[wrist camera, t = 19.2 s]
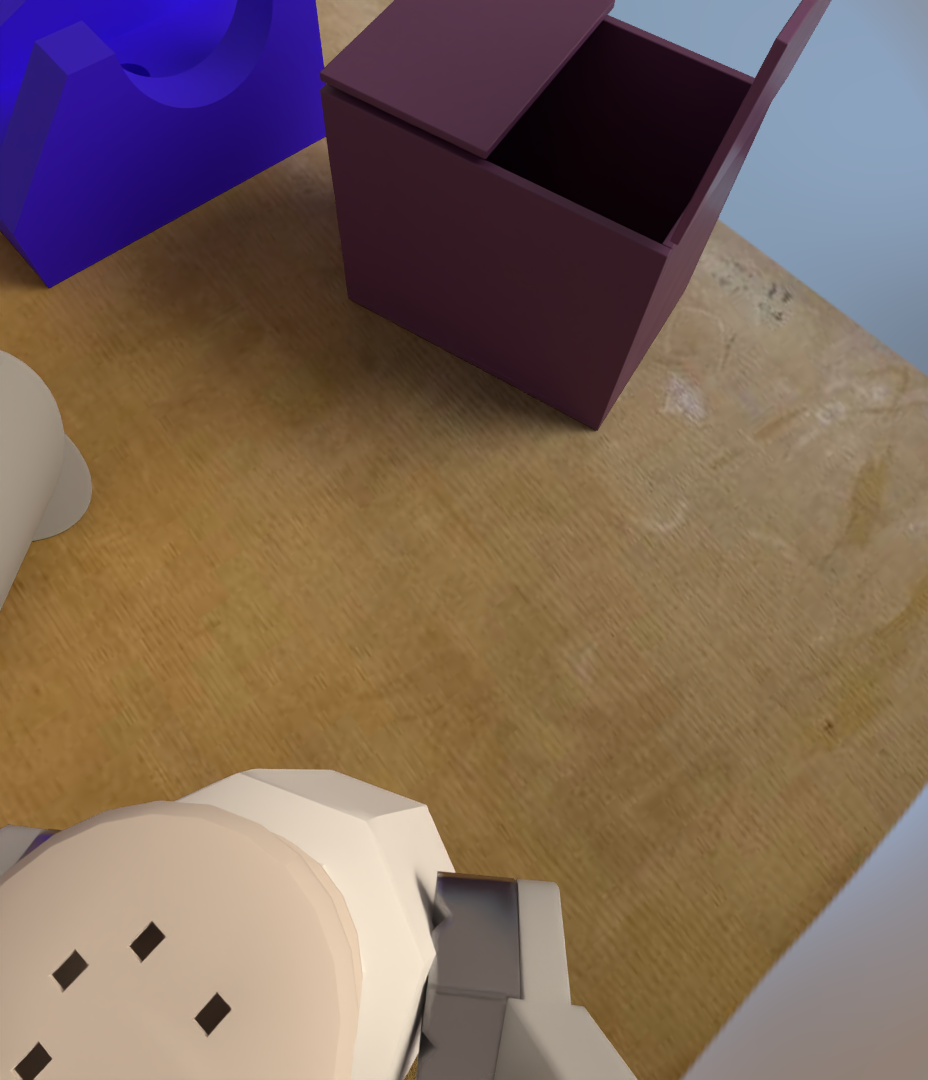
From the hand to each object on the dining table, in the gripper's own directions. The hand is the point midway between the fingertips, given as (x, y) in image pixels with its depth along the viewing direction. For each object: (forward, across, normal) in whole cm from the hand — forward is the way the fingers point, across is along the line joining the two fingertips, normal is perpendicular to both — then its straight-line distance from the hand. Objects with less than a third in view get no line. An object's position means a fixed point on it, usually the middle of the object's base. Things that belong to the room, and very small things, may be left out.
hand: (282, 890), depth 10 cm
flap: (+26, -12, -15) cm, 32 cm away
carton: (+42, -4, -5) cm, 42 cm away
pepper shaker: (+4, 0, +5) cm, 6 cm away
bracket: (+48, +22, -11) cm, 54 cm away
